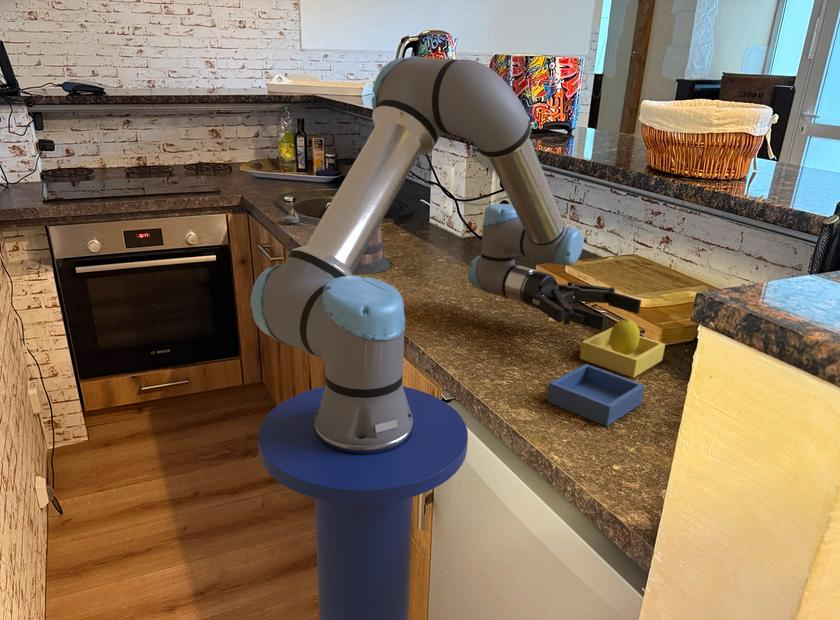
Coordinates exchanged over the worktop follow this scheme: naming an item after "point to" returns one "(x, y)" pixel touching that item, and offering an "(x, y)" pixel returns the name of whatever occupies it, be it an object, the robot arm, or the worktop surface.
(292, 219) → the figurine
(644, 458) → the worktop surface
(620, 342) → the lemon
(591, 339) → the yellow bin
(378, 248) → the tankard
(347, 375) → the robot arm
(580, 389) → the blue bin
